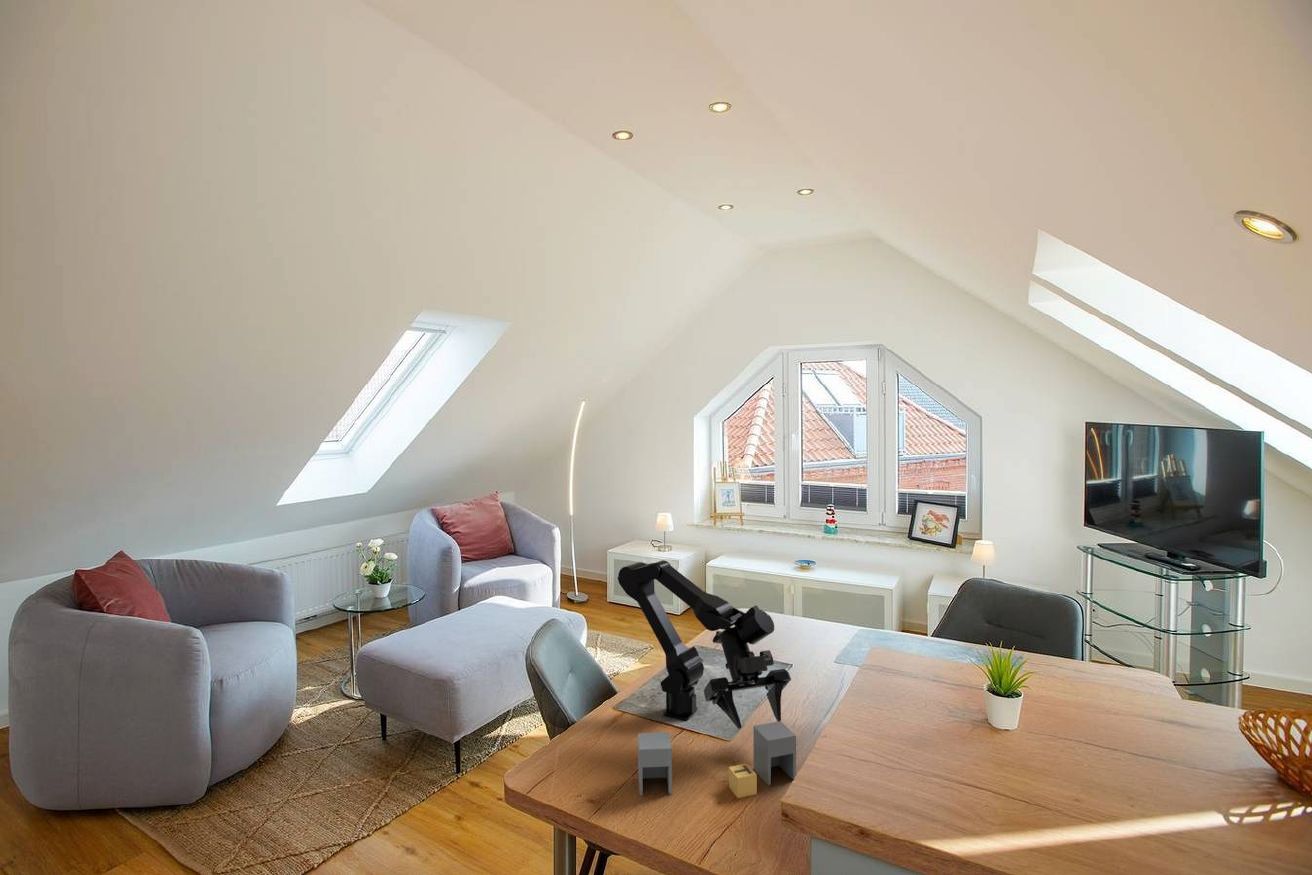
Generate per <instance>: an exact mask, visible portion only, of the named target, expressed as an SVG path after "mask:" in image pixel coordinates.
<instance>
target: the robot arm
mask: <svg viewBox="0 0 1312 875" xmlns="http://www.w3.org/2000/svg"><path fill="white" fill-rule="evenodd" d="M655 580H656V581H658V582H659V583H660V584H661V585H662V586H664V588H666V589H667V590H669V591H670V593H672V594H674V595H675V596H676V597H677V598H678V599H680V601H682V602H684V603H685V604H686V605H687V606H688V607H690V608H691V610H693V613H694V615H695V618H696V620H698V621H699V622H700V624H701V625H702V626H703V627H704V628H705V629H707V630H708V631H710V632H716V633H715V635H714V636H713V638H712V643H713V644H719V645H721V647H722V650H723V653H724V658H725V660H726V663H725V669H726V670H729V674H730V677H731V681H729V679H728V678H727V677H726V676H723V677H717V678H711V679H710V680H709V682H708V683H707V684H706V686H705V688H704V689H703V695H704V698H705V702H711V703H712V704H713V705H717V706H718V707H719V708H720V709H721V710H722V711H723V712H724V713H725V714H726V715H727V718H729V719H730V721H731V722H732V723H733V724H734V725H735V726H736V728H737V729H738V730H741V729H742V723H741V720H740V716H739V713H738V711H737V708H736V705H735V703H734V695H733V692H737V691H742V690H743V691H744V690H750V689H755V688H762V687H764V688H765V690H767V692H766V694H765V695H766V697H767V700H768V702H769V705H770V708H771V710H772V713H773V716H774V718H775V720H776V722H778V721H781V720H782V699H781V698H782V692H783V690H784V689H785V688H786V687H787V686H788V684H789V683H790V682H791V681H792V677H791V675H790V672H789V671H788V670H786V669H785V668H780V669H773V670H772V669H771V670H769V672H768V673H767V674H766V675H765V676H763V677H760V676H761V675H762V674H763V672H767V671H768V667H769V666H774V663H775V662H774V658H773V655H772V653H771V650H770V649H768V650H761V651H759V655H755V652H754V651H753V650H752V651H750V647H749V645H755V644H757V643H759V642H760V641H761V640H763V639H765V638H766V637H768V636H770V635H771V634H773V633H774V631H775V624H774V623H775V622H774V621H773V619H772V616H770V615H769V614H768V613H767V612H766V611H764V610H763V609H760V608H759V606H758V605H753V606H752V607H750V608H748V609H747V611H746V612H744V611H742V610H740V609H738V608H736V607H734V606H733V605H732V604H731V603H730V602H728V601H727V600H725V599H723V598H721V597H719V596H718V595H714V594H712V593H711V594H710V593H708V592H706V591H704V590H702V589H701V588H700V587H699V586H697V585H696V584H695V583H694V582H692V581H691V580H690V579H689V578H687V577H686V576H685V575H683V574H682V573H681V572H680V571H678V570H677V569H676V568H674V567H673V566H672V565H671V563H670V562H669V561H667V560H663V559H662V560H659V561H657V562H652V563H648V564H647V563H646V562H645V563H644V562H640V561H638V562H635V563H632V564H629V565H626V566H623V567H621V568H620V570H619V572H618V575H617V582H618V583H619V585H620V586H619V587H621V588H622V590H623V591H624V592H625V594H626V595H627V596H628V597H630V598H631V599H633V600H634V601H635V602H637V604H638V605H639V608H640V609H641V611H642V613H643V615H644V617H645V619H646V621H647V622H648V625H649V626H650V628H651V630H652V632H653V634H654V635H655V637H656V639H657V641H658V643H659V645H660V647H661V648H662V650H663V652H664V654H665V668H666V671H667V674H668V675H667V676H666V677H665V678H664V679H663V680H662V681H661V682H660V688H661V690H662V692H664V693H665V695H666V696H665V700H666V701H665V710H664V711H663V712H662V715H663V716H666V717H671V718H674V719H678V720H683V721H688V720H689V719H691V717H692V716H693V715H694V714H695V713H696V712H697V710H698V707H697V694H696V693H695V687H694V686H696V685H697V684H699V680H700V679H702V677H703V675H704V671H705V666H704V664H703V662H704V659H703V658H701V656H700V654H699V652H698V650H697V648H696V647H695V646H691V647H688V646H687V645H685V644H684V642H683V641H682V639H681V637H680V636H679V634H678V632H677V630H676V628H675V626H674V624H673V623H672V621H671V618H670V617H669V615H668V614H667V612H666V610H665V608H664V606H663V604H662V603H661V601H660V598H659V597H658V596H657V594H656V591H655ZM720 630H721V631H720ZM781 722H782V721H781Z"/></svg>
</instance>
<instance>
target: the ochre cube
mask: <svg viewBox="0 0 1312 875" xmlns="http://www.w3.org/2000/svg"><path fill="white" fill-rule="evenodd" d="M757 775H758V773H757V772H756V771H755V770H754V768H753V767H751V766H750V765H749V764H748V762H746V763H742V764H738V765H733V766H732V765H731V766H728V787H729V789H730V790H731V791H732V793H733V794H734V795H735V797H736V798H737V799H741V798H746V797H750V796H754V795H757V794H758V789H757V788H758V786H757V785H758V783H757V782H758V778H757V777H758V776H757Z"/></svg>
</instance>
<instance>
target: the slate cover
mask: <svg viewBox="0 0 1312 875" xmlns="http://www.w3.org/2000/svg"><path fill="white" fill-rule="evenodd" d="M672 749H673V748H672V742H671V737H670V732H669V731H664V732H663V731H661V732H660V731H659V732H643V733H641V732H638V733H637V752H638V753H637V760H638V761H637V763H638V764H637V765H638V766H637V768H638V770H637V771H638V772H637V774H638V776H637V778H638V790H639V791H638V792H639V794H638V795H639V796H640V797H641V796H643V795H644V793H643V790H644V789H643V788H644V787H643V784H644V783H643V781H644V780H643V779H663V778H664V779H665V778H666V783H667V784H666V785H667V790H668V792H667V793H668V795H673V781H672V780H673V776H672V775H673V770H672V768H673V766H672V765H673V761H672V760H673V758H672V757H673V756H672V755H673V751H672Z"/></svg>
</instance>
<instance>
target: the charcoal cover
mask: <svg viewBox="0 0 1312 875" xmlns="http://www.w3.org/2000/svg"><path fill="white" fill-rule="evenodd" d="M773 767H780V768H781V769H782V770H783V772H784V773H785V774H787V775H788V776H789V777H790V778H791V780H793V779H794V778H795V776H796V777H797V735H796V733H794V732H793V731H792V730H791V729H790V728H789V727H787V725H785V724H784V723H783V722H782V721H778V722H777V721H773V722H768V723H764V724H758V725H757V724H756V725H753V771H754V772H755V773H756V774H757V775H758V776H759V777H760V778H761V779H762V780H763V782H764V783H765V784H766V785H767V786H772V783H771V781H772V779H771V778H772V773H771V772H772V771H771V770H772V768H773Z"/></svg>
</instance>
